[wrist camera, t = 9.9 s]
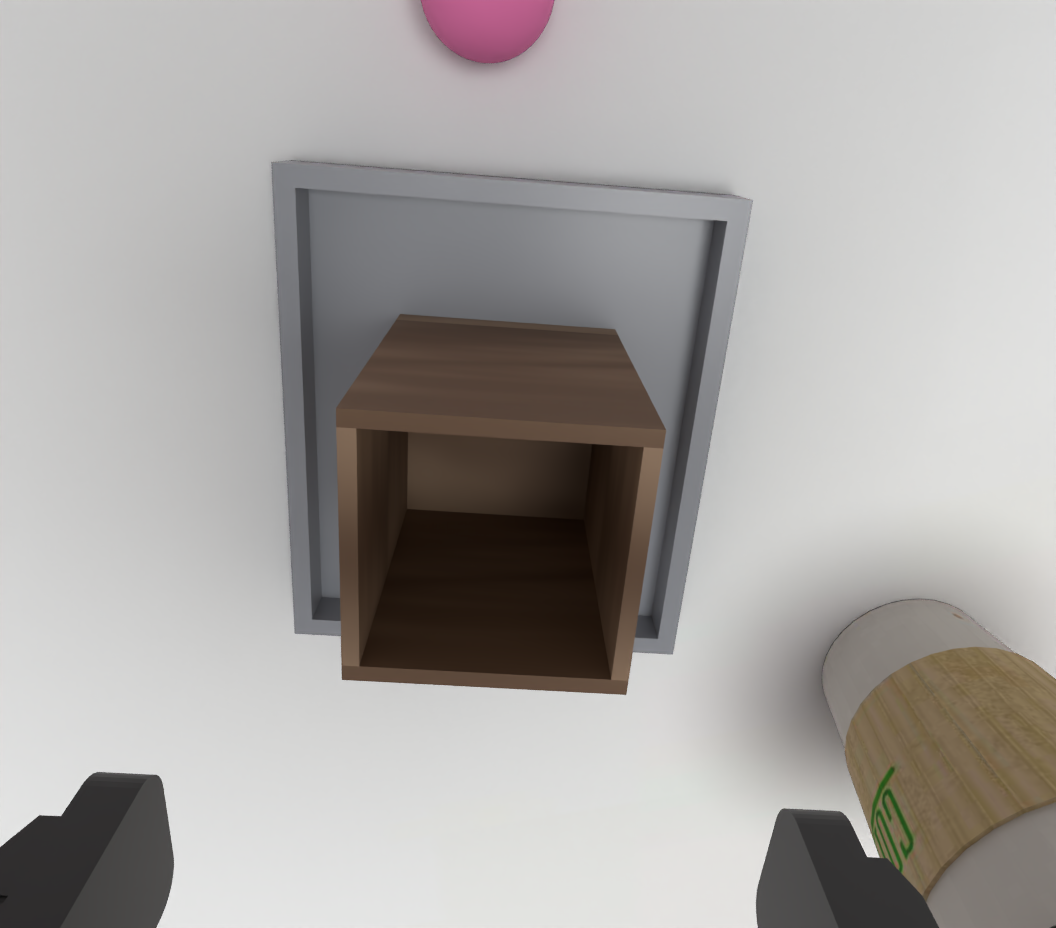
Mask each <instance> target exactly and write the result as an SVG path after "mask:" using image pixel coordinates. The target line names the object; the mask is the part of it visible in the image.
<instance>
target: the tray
mask: <svg viewBox="0 0 1056 928" xmlns="http://www.w3.org/2000/svg"><path fill="white" fill-rule="evenodd" d="M271 163H272V183H273V204H274V224H275V244H276V264H277V284H278V304H279V325H280V345H281V365H282V385H283V405H284V425H285V446H286V466H287V486H288V506H289V526H290V546H291V567H292V587H293V607H294V627H295V634H313V635H331V636H341V614H340V570H339V527H338V483H337V439H336V407H337V406H338V404H339V403H340V401H341V400H342V398H343V397H344V396H345V394H346V393H347V391H348V390H349V388H350V387H351V385H352V384H353V382H354V381H355V379H356V378H357V376H358V375H359V374H360V372H361V371H362V369H363V368H364V366H365V365H366V363H367V362H368V360H369V359H370V357H371V356H372V354H373V353H374V352H375V350H376V349H377V347H378V346H379V344H380V343H381V341H382V340H383V338H384V337H385V335H386V334H387V332H388V331H389V330H390V328H391V327H392V325H393V324H394V322H395V321H396V319H397V318H398V316H399V315H400V314H407V315H421V316H436V317H450V318H464V319H478V320H492V321H506V322H520V323H534V324H548V325H562V326H577V327H591V328H605V329H615V330H616V332H617V334H618V336H619V338H620V340H621V342H622V344H623V346H624V348H625V350H626V352H627V354H628V356H629V358H630V360H631V362H632V364H633V366H634V368H635V369H636V371H637V373H638V375H639V377H640V379H641V381H642V383H643V385H644V387H645V389H646V391H647V393H648V395H649V397H650V399H651V401H652V403H653V405H654V407H655V409H656V411H657V413H658V415H659V417H660V419H661V421H662V423H663V425H664V427H665V428H666V435H665V442H664V449H663V455H662V462H661V468H660V475H659V482H658V488H657V495H656V501H655V508H654V514H653V521H652V528H651V534H650V541H649V547H648V554H647V561H646V567H645V574H644V580H643V587H642V594H641V600H640V607H639V613H638V620H637V627H636V633H635V640H634V646H633V652H639V653H657V654H673V650H674V644H675V639H676V633H677V627H678V622H679V616H680V610H681V605H682V599H683V593H684V588H685V582H686V576H687V571H688V565H689V559H690V554H691V548H692V542H693V537H694V531H695V525H696V520H697V514H698V508H699V503H700V497H701V491H702V486H703V480H704V474H705V469H706V463H707V457H708V452H709V446H710V440H711V435H712V429H713V423H714V418H715V412H716V406H717V401H718V395H719V389H720V384H721V378H722V372H723V367H724V361H725V355H726V350H727V344H728V338H729V333H730V327H731V321H732V316H733V310H734V304H735V299H736V293H737V287H738V282H739V276H740V270H741V265H742V259H743V253H744V248H745V242H746V236H747V231H748V225H749V219H750V214H751V208H752V202H753V200H751V199H747V198H743V197H739V196H735V195H725V194H712V193H700V192H687V191H674V190H662V189H649V188H636V187H623V186H611V185H598V184H585V183H572V182H560V181H547V180H534V179H522V178H509V177H496V176H483V175H471V174H458V173H445V172H432V171H420V170H407V169H394V168H382V167H369V166H356V165H343V164H331V163H318V162H305V161H292V160H291V161H280V162H271Z"/></svg>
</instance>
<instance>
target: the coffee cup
mask: <svg viewBox="0 0 1056 928" xmlns="http://www.w3.org/2000/svg"><path fill="white" fill-rule="evenodd" d="M822 685H823V690H824V694H825V697H826V700H827V702H828V705H829V708H830V710H831V713H832V716H833V719H834V721H835V724H836V727H837V729H838V732H839V735H840V737H841V740H842V743H843V745H844V748H845V756H846V762H847V767H848V770H849V773H850V776H851V778H852V781H853V784H854V787H855V790H856V792H857V795H858V798H859V801H860V804H861V806H862V809H863V812H864V815H865V817H866V820H867V823H868V826H869V829H870V831H871V834H872V837H873V840H874V843H875V845H876V848H877V851H878V854H879V856H880V858H888V860H889V861H890V862H891V863H892V864H893V865H894V866H895V867H896V868H897V869H898V870H899V871H900V872H901V873H902V874H903V876H904V877H905V878H906V879H907V880H908V881H909V882H910V883H911V884H912V885H913V886H914V887H915V888H916V889H917V891H918V892H919V893H920V894H921V895H922V896H923V898H924V899H925V901H926V903H927V905H928V907H929V909H930V911H931V913H932V915H933V917H934V919H935V920H936V922H937V924H938V926H939V928H1056V679H1055V678H1053V677H1052V676H1051V675H1050V674H1048V673H1047V672H1046V671H1044V670H1043V669H1042V668H1041V667H1039V666H1038V665H1037V664H1035V663H1034V662H1033V661H1031V660H1029V659H1027V658H1025V657H1023V656H1021V655H1019V654H1017V653H1014V652H1013V651H1012V650H1010V649H1009V648H1008V647H1007V646H1005V645H1004V644H1003V643H1002V642H1000V641H999V640H998V639H997V638H995V637H994V636H993V635H992V634H990V633H989V632H988V631H987V630H985V629H984V628H983V627H982V626H980V625H979V624H978V623H976V622H975V621H974V620H973V619H971V618H970V617H969V616H968V615H966V614H965V613H964V612H963V611H961V610H959V609H957V608H955V607H953V606H951V605H949V604H946V603H942V602H939V601H935V600H924V599H914V600H902V601H898V602H894V603H890V604H886V605H884V606H881V607H879V608H876V609H874V610H872V611H869V612H868V613H866V614H865V615H863V616H861V617H860V618H858V619H857V620H855V621H854V622H853V623H852V624H850V625H849V626H848V627H847V628H846V629H845V630H844V631H843V632H842V633H841V634H840V635H839V637H838V638H837V639H836V640H835V641H834V643H833V644H832V646H831V648H830V650H829V652H828V654H827V655H826V659H825V662H824V665H823V670H822Z"/></svg>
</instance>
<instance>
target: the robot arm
mask: <svg viewBox="0 0 1056 928" xmlns="http://www.w3.org/2000/svg"><path fill="white" fill-rule="evenodd" d="M173 869H174V858H173V850H172V843H171V836H170V829H169V823H168V816H167V809H166V802H165V796H164V789H163V784H162V781H161V778H160V777H159V776H157V775H146V774H126V773H106V772H96V773H94V774H92V775H91V776H89V777H88V778H87V779H86V781H85V782H84V783H83V785H82V786H81V787H80V789H79V790H78V792H77V793H76V795H75V796H74V798H73V799H72V801H71V802H70V804H69V805H68V807H67V808H66V810H65V811H64V813H63V814H62V816H42V815H39V816H38V817H37V818H36V819H34V820H33V821H32V822H31V823H29V824H28V825H27V826H26V827H25V828H23V829H22V830H21V831H20V832H18V833H17V834H16V835H15V836H13V837H12V838H11V839H10V840H8V841H7V842H6V843H5V844H4V845H2V846H1V847H0V928H156V927H157V925H158V923H159V921H160V918H161V916H162V914H163V911H164V909H165V906H166V903H167V900H168V897H169V893H170V889H171V884H172V878H173ZM756 914H757V924H758V928H939V926H938V924H937V922H936V920H935V919H934V917H933V915H932V913H931V911H930V909H929V907H928V905H927V903H926V901H925V899H924V898H923V896H922V895H921V894H920V893H919V892H918V891H917V889H916V888H915V887H914V886H913V885H912V884H911V883H910V882H909V881H908V880H907V879H906V878H905V877H904V876H903V874H902V873H901V872H900V871H899V870H898V869H897V868H896V867H895V866H894V865H893V864H892V863H891V862H890V861H889V860H888V858H870V857H867V856H866V854H865V852H864V850H863V848H862V846H861V844H860V842H859V839H858V837H857V835H856V833H855V831H854V829H853V827H852V825H851V823H850V821H849V820H848V818H847V817H846V816H845V815H844V814H843V813H842V812H840V811H823V810H803V809H782V810H781V811H780V812H779V814H778V816H777V819H776V822H775V826H774V829H773V833H772V837H771V840H770V844H769V848H768V851H767V855H766V859H765V862H764V866H763V869H762V873H761V877H760V880H759V884H758V889H757V896H756Z"/></svg>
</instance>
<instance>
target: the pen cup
mask: <svg viewBox="0 0 1056 928" xmlns="http://www.w3.org/2000/svg"><path fill="white" fill-rule="evenodd" d="M665 435H666V428H665V427H664V425H663V423H662V421H661V419H660V417H659V415H658V413H657V411H656V409H655V407H654V405H653V403H652V401H651V399H650V397H649V395H648V393H647V391H646V389H645V387H644V385H643V383H642V381H641V379H640V377H639V375H638V373H637V371H636V369H635V368H634V366H633V364H632V362H631V360H630V358H629V356H628V354H627V352H626V350H625V348H624V346H623V344H622V342H621V340H620V338H619V336H618V334H617V332H616V330H615V329H605V328H591V327H577V326H562V325H548V324H534V323H520V322H506V321H492V320H478V319H464V318H450V317H436V316H421V315H407V314H400V315H399V316H398V318H397V319H396V321H395V322H394V324H393V325H392V327H391V328H390V330H389V331H388V332H387V334H386V335H385V337H384V338H383V340H382V341H381V343H380V344H379V346H378V347H377V349H376V350H375V352H374V353H373V354H372V356H371V357H370V359H369V360H368V362H367V363H366V365H365V366H364V368H363V369H362V371H361V372H360V374H359V375H358V376H357V378H356V379H355V381H354V382H353V384H352V385H351V387H350V388H349V390H348V391H347V393H346V394H345V396H344V397H343V398H342V400H341V401H340V403H339V404H338V406H337V407H336V439H337V483H338V527H339V570H340V614H341V658H342V680H357V681H376V682H395V683H414V684H433V685H452V686H471V687H490V688H509V689H528V690H547V691H566V692H585V693H603V694H622V695H626V692H627V686H628V679H629V673H630V666H631V659H632V653H633V646H634V640H635V633H636V627H637V620H638V613H639V607H640V600H641V594H642V587H643V580H644V574H645V567H646V561H647V554H648V547H649V541H650V534H651V528H652V521H653V514H654V508H655V501H656V495H657V488H658V482H659V475H660V468H661V462H662V455H663V449H664V442H665Z"/></svg>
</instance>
